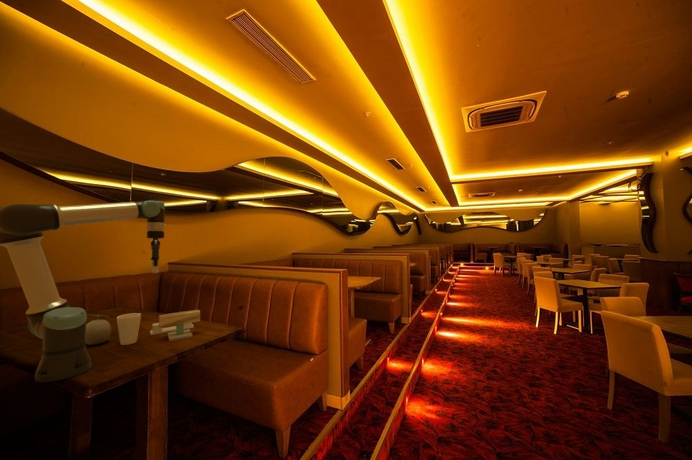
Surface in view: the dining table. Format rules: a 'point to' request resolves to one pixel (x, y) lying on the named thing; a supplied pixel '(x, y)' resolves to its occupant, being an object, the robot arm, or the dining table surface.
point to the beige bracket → (159, 330)
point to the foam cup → (128, 328)
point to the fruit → (97, 330)
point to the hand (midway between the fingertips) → (154, 271)
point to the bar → (179, 318)
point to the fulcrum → (179, 333)
